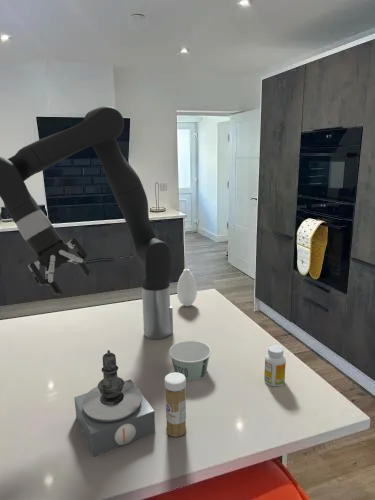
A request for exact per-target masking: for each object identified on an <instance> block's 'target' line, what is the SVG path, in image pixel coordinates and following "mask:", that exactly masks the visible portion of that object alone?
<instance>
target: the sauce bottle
mask: <svg viewBox="0 0 375 500" xmlns="http://www.w3.org/2000/svg"><path fill="white" fill-rule="evenodd" d="M176 294H177V299H178V301H179V303H180V304H182V305H183V306H185V307H190V306H192V304H195V303H194V302H195V301H196V298H197V295H198V287H197V283H196V279H195V277H194V275H193V273H192V272H191V269H189V268H188V263H186V264H185V269H183V271H182V273H181V275H180V276H179V279H178V281H177V287H176Z"/></svg>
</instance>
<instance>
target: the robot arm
mask: <svg viewBox="0 0 375 500" xmlns="http://www.w3.org/2000/svg"><path fill="white" fill-rule="evenodd" d="M124 129H125V120H124V116H123V115H122V113H121V112H120V111H119V110H118V109H116V108H115V107H112V106H108V105H107V106H101V107H100V106H99V107H97V108H94V109H92V110H90V111H88V112H87V113H86V114H85V115H84V118H83V121H81V122H80V123H77V124H76V125H74V126H71V127H69V128H67V129H65V130H61V131H59V132H56V133H54V134H50V135H48V136H46V137H42V138H41V139H38V140H35V142H32V143H30V144H28V145H26V146H23V147H22V148H20V149H19V150H17V152H16V153H15V154H14V155H13V156H11V157H9V158H5V157H3V156H0V199H1V200H2V201H3V205H4V208H5V210H6V212H7V213H8V215H9V216H10V218H11V219H12V221H13V222H14V224H15V225H16V227H17V230H18V232H19V233H20V235H21V236H22V238H23V240H24V241H25V242H26V243H27V245H28V246H29V249H31V251H32V252H33V253H34V255H35V257H36V258H37V261H35V262H31V263H30V264H28V265H27V269H28V270H29V272H30V274H31V276H32V277H33V279H34V281H35V282H36V283H37V285H38V286H40V287H42V286H44V285H47V287H48V288H49V289H50V290H51V291H52V293H53V294H54V295H55V296H56V295H57V296H61V295H62V294H63V292H62V290H61V288H60V286H59V285H58V284H57V282H56V281H55V280H54V273H55V270H56V269H58V268H59V267H61V265H64V264H66V263H67V262H69V263H72V264H73V263H74V264H75V265H76V266H77V268H78V269H79V271H80V273H81V274H82V276H83V277H84V278H87V277H89V276H90V270H89V268H88V267H87V265H86V263H85V262H84V261H85V260H86V258H88V253H87V252H86V251H85V249H84V248H83V246H81V244H80V243H79V241H78V239H76V238H72V239H70V240H69V241H68V242H66V243H65V241H64V240H63V238H62V237H61V235H60V234H59V233H58V232H57V229H56V228H55V227H54V225H53V223H52V222H51V221H50V219H49V218H48V216H47V215H46V214H45V213H44V212H43V211H42V209H41V208H40V206H39V204H38V203H37V202H36V200H35V199H34V197H33V196H32V194H31V193H30V191H29V189H28V187H27V186H26V183H25V181H26V180H28V179H29V178H31V177H32V176H34V175H35V174H37V173H41V172H42V171H45V170H47V169H48V168H50V167H52V166H55V165H56V164H58V163H60V162H62V161H64V160H65V159H68V158H69V157H71V156H73V155H75V154H76V153H79V152H80V151H83V150H85V149H87V148H89V147H91V146H92V148H93V150H94V152H95V153H96V156H97V157H98V159H99V163H101V166H102V169H103V171H104V174H105V176H106V179H107V181H108V183H109V184H108V185H109V186H110V189H111V191H112V194H113V196H114V199H115V202H116V203H117V205H118V208H119V210H120V212H121V215H122V216H123V219H124V221H125V223H126V225H127V227H128V229H129V231H130V234H131V238H132V241H133V245H134V248H135V251H136V255H137V257H138V258H139V260H140V262H142V263H143V264H145V276H143V277H142V279H141V294H142V295H141V297H142V299H141V300H142V314H143V317H142V318H143V334H144V336H145V337H146V338H147V339H151V340H161V339H165V338H168V337H169V336H170V335H171V334H173V333H174V317H173V316H174V315H173V309H174V308H173V307H172V306H171V298H170V297H171V291H170V282H171V279H172V272H173V271H172V270H173V269H172V268H173V266H172V264H173V263H172V262H173V256H172V255H173V254H172V250H171V247H170V245H169V244H168V243H166V242H164V241H162V240H160V239H159V238H158V237H157V235H156V234H155V230H154V229H153V227H152V225H151V220H150V218H149V217H150V215H149V203H148V198H147V193H146V191H145V188H144V185H143V183H142V181H141V178H140V177H139V175H138V174H137V172H136V170H135V169H134V168H133V167H132V165H131V164H130V163H129V162H128V160H127V159H126V158H125V157H124V155H123V153H122V152H121V148H120V146H119V143H118V141H117V138H119V137H120V136H121V134H122V133H123V131H124ZM69 249H73V250H74V252H75V253H76V254H77V255H78V256H76V255H75V254H73V253H69V251H70V250H69ZM40 265H41V266H42V267H45V274H44V275H45V279H44V276H43V275H42V273H41V272H40Z"/></svg>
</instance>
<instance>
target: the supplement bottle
mask: <svg viewBox="0 0 375 500" xmlns="http://www.w3.org/2000/svg"><path fill="white" fill-rule="evenodd" d="M263 375H264V376H263V377H264V382H265V384H267V385H269V386H271V387H281V386H283V385H284V384H285V381H286V380H285V379H286V356H285V355H284V348H283V347H282V346H280V345H276V344H275V345H270V346H268V348H267V353H266V355H265V357H264V374H263Z"/></svg>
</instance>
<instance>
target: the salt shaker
mask: <svg viewBox="0 0 375 500" xmlns="http://www.w3.org/2000/svg"><path fill="white" fill-rule="evenodd" d="M118 370H119V366H118V365H117V357H116V354H115V353H113V352H111V350H109V349H108V350H107V351H106V353H104V354H103V355H102V367H101V372H102V373H103V376H102V377H103V378H102V379H101V380H100V381H99V382H98V384H97V386H98V389H99V391H100V393H101V394H102V396H101V397H100V401H101V403H102V404H104V405H108V406H111V405H116V404H118V403H120V402H121V401H122V400H123V398H124V395H123V393H122V389H123V386H124V381H125V380H124V379H123V378H122V377H120V376H118Z"/></svg>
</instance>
